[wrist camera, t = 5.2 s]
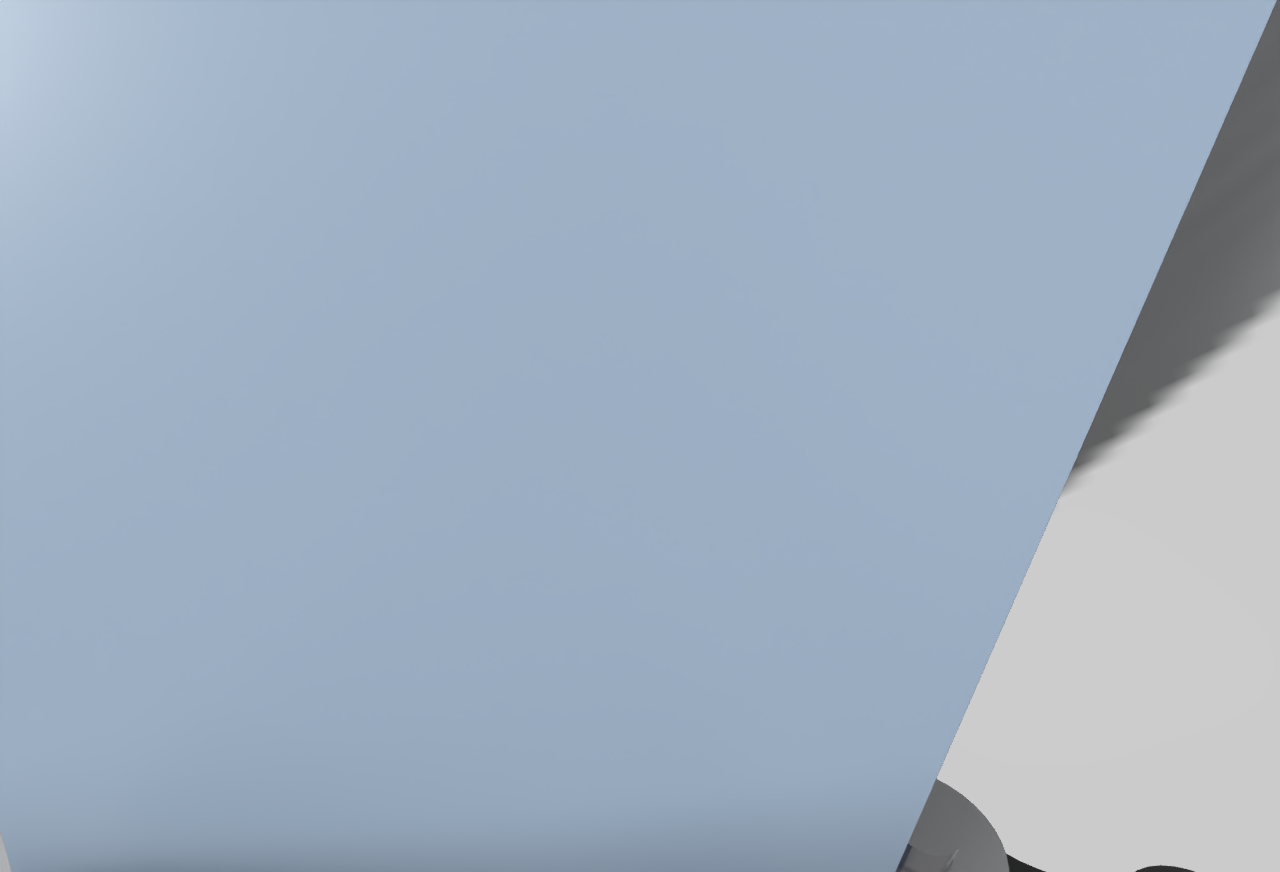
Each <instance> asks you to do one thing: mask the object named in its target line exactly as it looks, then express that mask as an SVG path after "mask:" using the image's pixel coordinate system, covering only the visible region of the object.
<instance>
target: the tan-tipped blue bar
mask: <svg viewBox="0 0 1280 872" xmlns="http://www.w3.org/2000/svg"><path fill="white" fill-rule="evenodd" d="M1276 1H1277V0H0V832H1V836H2V839H3V843H4V846H5V850H6V854H7V857H8V861H9V864H10V868H11V872H896V869H897V867H898V865H899V862H900V860H901V858H902V856H903V853H904V851H905V849H906V846H907V844H908V842H909V840H910V837H911V835H912V833H913V830H914V828H915V826H916V824H917V821H918V819H919V817H920V814H921V812H922V810H923V808H924V805H925V803H926V801H927V798H928V796H929V794H930V792H931V789H932V787H933V785H934V782H935V780H936V778H937V776H938V773H939V771H940V769H941V766H942V764H943V762H944V760H945V757H946V755H947V753H948V750H949V748H950V745H951V743H952V741H953V739H954V737H955V734H956V732H957V730H958V727H959V725H960V723H961V721H962V718H963V716H964V714H965V711H966V709H967V707H968V704H969V702H970V700H971V698H972V695H973V693H974V691H975V689H976V686H977V684H978V682H979V679H980V677H981V675H982V673H983V670H984V668H985V666H986V664H987V661H988V659H989V657H990V654H991V652H992V650H993V647H994V645H995V643H996V641H997V638H998V636H999V634H1000V631H1001V629H1002V627H1003V625H1004V622H1005V620H1006V618H1007V616H1008V613H1009V611H1010V609H1011V606H1012V604H1013V602H1014V600H1015V597H1016V595H1017V593H1018V590H1019V588H1020V586H1021V584H1022V581H1023V579H1024V577H1025V574H1026V572H1027V570H1028V568H1029V565H1030V563H1031V560H1032V558H1033V556H1034V554H1035V552H1036V549H1037V547H1038V545H1039V542H1040V540H1041V538H1042V536H1043V533H1044V531H1045V529H1046V527H1047V524H1048V522H1049V520H1050V517H1051V515H1052V513H1053V511H1054V508H1055V506H1056V504H1057V501H1058V499H1059V497H1060V495H1061V492H1062V490H1063V488H1064V485H1065V483H1066V481H1067V479H1068V476H1069V474H1070V472H1071V469H1072V467H1073V465H1074V463H1075V460H1076V458H1077V456H1078V453H1079V451H1080V449H1081V447H1082V444H1083V442H1084V440H1085V437H1086V435H1087V433H1088V431H1089V428H1090V426H1091V424H1092V421H1093V419H1094V417H1095V415H1096V412H1097V410H1098V408H1099V405H1100V403H1101V401H1102V399H1103V396H1104V394H1105V392H1106V389H1107V387H1108V385H1109V383H1110V380H1111V378H1112V376H1113V373H1114V371H1115V369H1116V367H1117V364H1118V362H1119V360H1120V357H1121V355H1122V353H1123V351H1124V348H1125V346H1126V344H1127V341H1128V339H1129V337H1130V335H1131V332H1132V330H1133V328H1134V325H1135V323H1136V321H1137V319H1138V316H1139V314H1140V312H1141V309H1142V307H1143V305H1144V303H1145V300H1146V298H1147V296H1148V293H1149V291H1150V289H1151V287H1152V284H1153V282H1154V280H1155V277H1156V275H1157V273H1158V271H1159V268H1160V266H1161V264H1162V262H1163V259H1164V257H1165V255H1166V252H1167V250H1168V248H1169V246H1170V243H1171V241H1172V239H1173V236H1174V234H1175V232H1176V230H1177V227H1178V225H1179V223H1180V220H1181V218H1182V216H1183V214H1184V211H1185V209H1186V207H1187V204H1188V202H1189V200H1190V198H1191V195H1192V193H1193V191H1194V188H1195V186H1196V184H1197V182H1198V179H1199V177H1200V175H1201V172H1202V170H1203V168H1204V166H1205V163H1206V161H1207V159H1208V156H1209V154H1210V152H1211V150H1212V147H1213V145H1214V143H1215V140H1216V138H1217V136H1218V134H1219V131H1220V129H1221V127H1222V124H1223V122H1224V120H1225V118H1226V115H1227V113H1228V111H1229V108H1230V106H1231V104H1232V102H1233V99H1234V97H1235V95H1236V92H1237V90H1238V88H1239V86H1240V83H1241V81H1242V79H1243V76H1244V74H1245V72H1246V70H1247V67H1248V65H1249V63H1250V60H1251V58H1252V56H1253V54H1254V51H1255V49H1256V47H1257V44H1258V42H1259V40H1260V38H1261V35H1262V33H1263V31H1264V28H1265V26H1266V24H1267V22H1268V19H1269V17H1270V15H1271V12H1272V10H1273V8H1274V6H1275V3H1276Z"/></svg>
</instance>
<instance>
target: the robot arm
mask: <svg viewBox="0 0 1280 872" xmlns="http://www.w3.org/2000/svg"><path fill="white" fill-rule="evenodd" d="M0 872H11V868H10V864H9V861H8V857H7V854H6V850H5V846H4V843H3V839H2V836H1V832H0ZM896 872H1045V871H1042V870H1039V869H1037V868H1034V867H1032V866H1030V865H1027V864H1025V863H1023V862H1020V861H1018V860H1017V859H1015V858H1013V857H1011V856H1009V855H1008V854H1006V853H1005V850H1004V847H1003V845H1002V842H1001V840H1000V838H999V837H998V835H997V833H996V831H995V829H994V828H993V827H992V825H991V824H990V823H989V821H988V820H987V818H986V817H985V816H984V815H983V814H982V813H981V812H980V811H979V810H978V809H977V807H976V806H975V805H974V804H972V803H971V802H970V801H969V800H968V799H966V798H965V797H964V796H963V795H962V794H960V793H959V792H957V791H956V790H954V789H953V788H951V787H950V786H948V785H946V784H945V783H943V782H941V781H939V780H937V778H936V780H935V782H934V785H933V787H932V789H931V792H930V794H929V796H928V798H927V801H926V803H925V805H924V808H923V810H922V812H921V814H920V817H919V819H918V821H917V824H916V826H915V828H914V830H913V833H912V835H911V837H910V840H909V842H908V844H907V846H906V849H905V851H904V853H903V856H902V858H901V860H900V862H899V865H898V867H897V869H896ZM1136 872H1194V871H1191V870H1187V869H1183V868H1178V867H1172V866H1161V865H1160V866H1150V867H1146V868H1143V869H1140V870H1137V871H1136Z"/></svg>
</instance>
